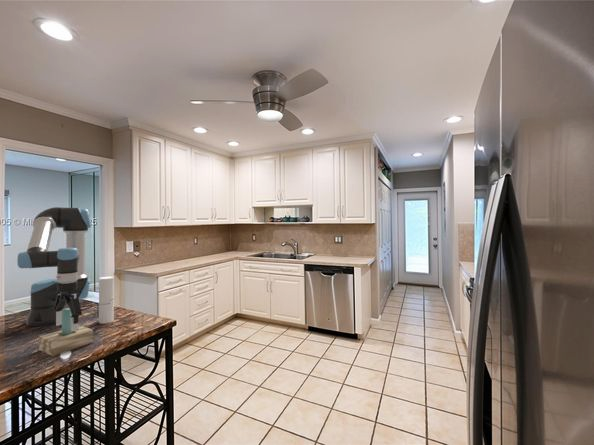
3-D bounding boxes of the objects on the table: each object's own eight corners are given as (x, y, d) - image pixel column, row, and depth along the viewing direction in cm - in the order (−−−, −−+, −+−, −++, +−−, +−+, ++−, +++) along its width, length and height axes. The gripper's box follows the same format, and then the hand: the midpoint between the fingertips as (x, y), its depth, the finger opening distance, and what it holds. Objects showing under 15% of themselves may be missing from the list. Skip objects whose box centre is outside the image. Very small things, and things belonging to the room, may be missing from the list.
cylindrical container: (116, 320, 169) (117, 277, 169) (104, 324, 162) (105, 279, 162) (107, 318, 171) (107, 276, 171) (95, 322, 165) (96, 278, 164)
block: (39, 349, 130) (39, 336, 130) (79, 337, 144) (79, 325, 144) (52, 356, 125) (52, 342, 125) (93, 342, 139) (93, 329, 139)
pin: (59, 340, 134) (60, 309, 133) (69, 337, 137) (70, 307, 137) (64, 341, 132) (64, 311, 131) (74, 338, 135) (74, 308, 135)
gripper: (44, 280, 137) (44, 325, 137) (72, 286, 125) (71, 336, 125) (63, 277, 143) (63, 320, 144) (91, 283, 132) (90, 330, 132)
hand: (67, 327), depth 134 cm, fingers open, 13 cm apart
